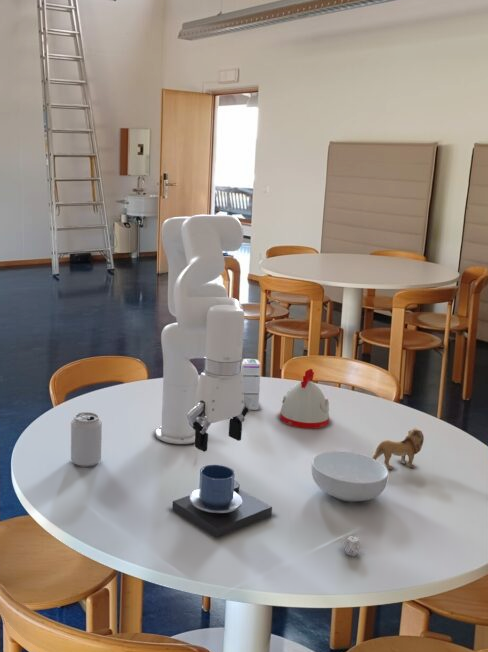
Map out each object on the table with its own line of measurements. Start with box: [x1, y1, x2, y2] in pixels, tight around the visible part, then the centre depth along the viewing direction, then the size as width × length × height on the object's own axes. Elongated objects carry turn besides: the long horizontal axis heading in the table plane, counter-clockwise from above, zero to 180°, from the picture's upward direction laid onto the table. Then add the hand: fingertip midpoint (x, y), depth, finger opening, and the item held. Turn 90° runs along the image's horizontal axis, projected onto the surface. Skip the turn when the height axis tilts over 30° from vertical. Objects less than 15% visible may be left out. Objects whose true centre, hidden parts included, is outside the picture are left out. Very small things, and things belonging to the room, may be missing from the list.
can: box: [70, 411, 103, 467], centre depth 175 cm, size 8×8×12 cm
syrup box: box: [241, 358, 261, 411], centre depth 217 cm, size 6×6×14 cm
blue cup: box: [198, 464, 236, 505], centre depth 150 cm, size 7×7×6 cm
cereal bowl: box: [311, 450, 389, 503], centre depth 162 cm, size 17×17×7 cm
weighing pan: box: [189, 488, 242, 513], centre depth 151 cm, size 11×11×1 cm
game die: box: [342, 535, 362, 557], centre depth 139 cm, size 4×4×3 cm
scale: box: [171, 479, 273, 539], centre depth 153 cm, size 16×14×4 cm
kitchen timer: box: [279, 368, 330, 429], centre depth 208 cm, size 14×14×15 cm
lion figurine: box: [372, 428, 425, 470], centre depth 179 cm, size 15×5×9 cm, turn 110°
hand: (218, 443), depth 149 cm, fingers open, 9 cm apart
